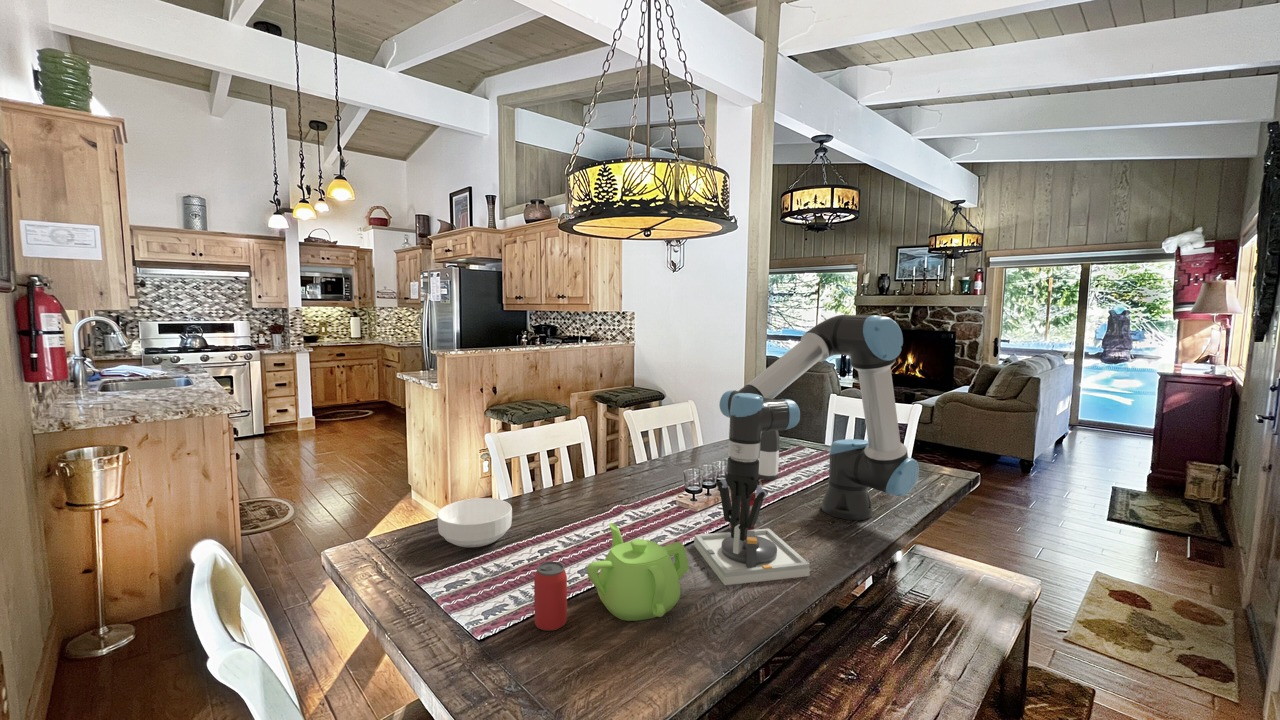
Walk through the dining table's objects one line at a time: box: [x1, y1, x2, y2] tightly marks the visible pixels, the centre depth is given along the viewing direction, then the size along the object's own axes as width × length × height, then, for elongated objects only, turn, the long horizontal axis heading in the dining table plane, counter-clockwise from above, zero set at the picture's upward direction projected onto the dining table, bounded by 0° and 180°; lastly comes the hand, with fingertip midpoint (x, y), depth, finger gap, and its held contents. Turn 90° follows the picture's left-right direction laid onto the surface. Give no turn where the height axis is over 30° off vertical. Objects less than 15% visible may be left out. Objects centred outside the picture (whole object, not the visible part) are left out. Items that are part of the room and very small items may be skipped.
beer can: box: [533, 561, 568, 632], centre depth 115 cm, size 7×7×12 cm
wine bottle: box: [758, 430, 780, 481], centre depth 213 cm, size 8×8×30 cm
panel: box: [693, 528, 811, 586], centre depth 145 cm, size 22×22×3 cm
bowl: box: [436, 497, 513, 548], centre depth 155 cm, size 20×20×8 cm
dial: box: [722, 530, 777, 568], centre depth 144 cm, size 16×14×7 cm
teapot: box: [586, 522, 690, 622], centre depth 123 cm, size 19×20×14 cm
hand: (737, 551), depth 138 cm, fingers closed
